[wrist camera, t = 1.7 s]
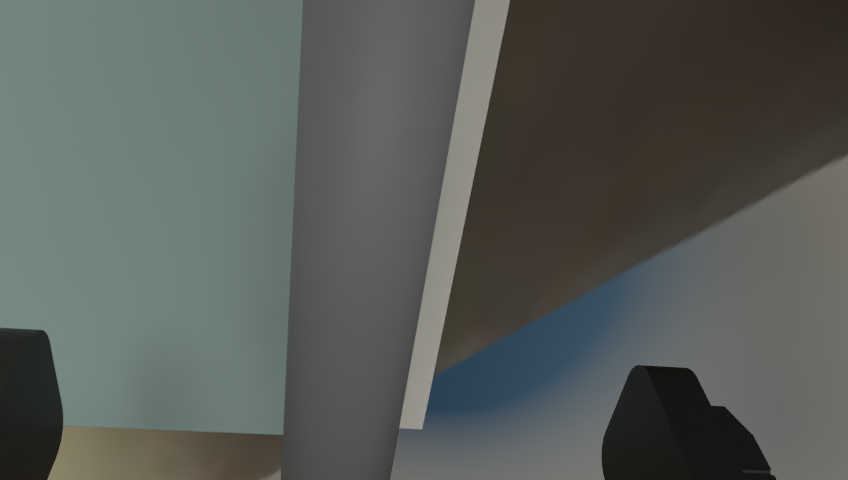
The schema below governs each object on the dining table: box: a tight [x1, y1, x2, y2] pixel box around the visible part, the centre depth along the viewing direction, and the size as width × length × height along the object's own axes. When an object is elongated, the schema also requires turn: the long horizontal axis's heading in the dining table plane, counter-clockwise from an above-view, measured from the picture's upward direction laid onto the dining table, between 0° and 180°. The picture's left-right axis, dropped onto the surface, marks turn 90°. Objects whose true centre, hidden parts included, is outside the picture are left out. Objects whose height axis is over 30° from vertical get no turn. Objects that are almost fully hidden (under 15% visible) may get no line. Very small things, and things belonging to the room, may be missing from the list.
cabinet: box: [399, 0, 510, 429], centre depth 18 cm, size 16×16×8 cm
